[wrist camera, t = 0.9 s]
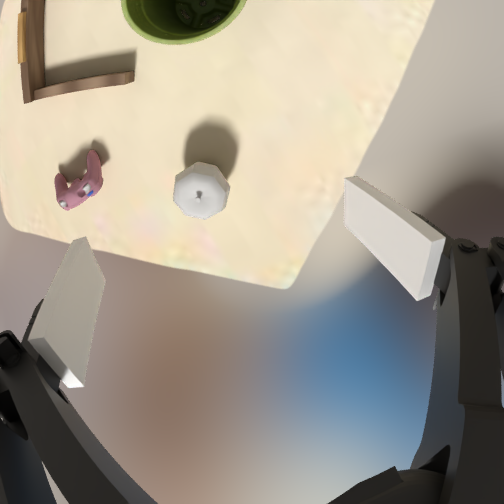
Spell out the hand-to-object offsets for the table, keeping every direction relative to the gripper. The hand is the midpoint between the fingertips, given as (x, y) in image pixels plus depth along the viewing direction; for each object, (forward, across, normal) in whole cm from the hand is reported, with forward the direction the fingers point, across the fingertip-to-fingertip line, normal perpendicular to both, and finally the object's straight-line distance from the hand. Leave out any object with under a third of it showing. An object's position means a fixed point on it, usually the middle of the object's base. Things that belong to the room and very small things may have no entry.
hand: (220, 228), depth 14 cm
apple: (+29, +1, -7) cm, 30 cm away
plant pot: (+26, +4, +18) cm, 32 cm away
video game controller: (+34, -18, -2) cm, 39 cm away
